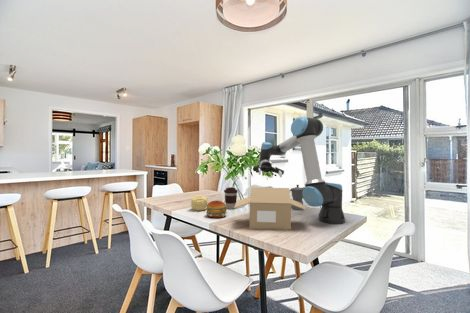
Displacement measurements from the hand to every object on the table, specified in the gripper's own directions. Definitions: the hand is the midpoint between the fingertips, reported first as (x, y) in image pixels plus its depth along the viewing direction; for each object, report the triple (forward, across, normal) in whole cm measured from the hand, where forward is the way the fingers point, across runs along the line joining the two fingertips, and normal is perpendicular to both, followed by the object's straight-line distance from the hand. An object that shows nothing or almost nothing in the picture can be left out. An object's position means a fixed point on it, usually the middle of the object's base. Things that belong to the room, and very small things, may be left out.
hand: (270, 174), depth 149 cm
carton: (+14, 0, -26) cm, 29 cm away
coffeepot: (-20, -29, -29) cm, 46 cm away
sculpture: (-16, +44, -37) cm, 59 cm away
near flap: (+21, +3, -7) cm, 23 cm away
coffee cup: (-22, +21, -35) cm, 47 cm away
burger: (0, +31, -32) cm, 45 cm away
